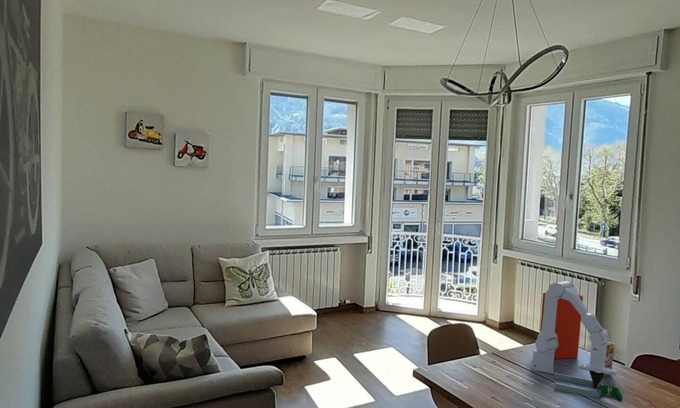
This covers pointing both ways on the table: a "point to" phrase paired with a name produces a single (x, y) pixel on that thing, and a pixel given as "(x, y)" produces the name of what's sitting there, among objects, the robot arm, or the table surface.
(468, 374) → the table surface
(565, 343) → the file binder
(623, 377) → the table surface
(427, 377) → the table surface
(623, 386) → the table surface
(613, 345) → the candy box
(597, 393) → the pair of grey bars
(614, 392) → the dark green curved piece
